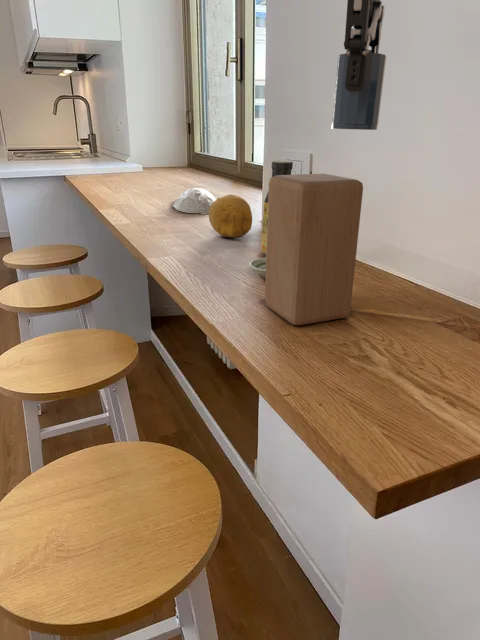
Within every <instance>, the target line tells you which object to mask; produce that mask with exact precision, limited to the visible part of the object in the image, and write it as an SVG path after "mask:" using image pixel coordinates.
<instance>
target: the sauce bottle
mask: <svg viewBox="0 0 480 640" xmlns="http://www.w3.org/2000/svg"><path fill="white" fill-rule="evenodd" d="M293 163H294V162H293V161H291V160H287V159H285V160H284V159H276V160H274V159H273V160H272V161H271V167H270V168H271V178H272V177H274V176H276V175H292V170H293V165H294V164H293ZM268 195H269V189H268V191H267V193H266V196H265V199H264V201H263V215H262V231H261V232H262V233H261V235H262V236H261V258H266V252H267V223H268Z"/></svg>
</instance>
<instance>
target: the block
mask: <svg viewBox="0 0 480 640" xmlns="http://www.w3.org/2000/svg"><path fill="white" fill-rule="evenodd" d="M268 190H269V195H268V223H267V252H266V278H265V281H264V283H265V285H264V286H265V287H264V303H265V306H266V307H267V308H268V309H270V310H272V311H273V312H275V313H276V314H277V315H278V316H279V317H282V318H283V319H284V320H286V321H287V322H288V323H290V324H291V325H295V326H302V325H308V324H314V323H321V322H326V321H327V322H328V321H332V320H338V319H342V318H343V319H344V318H347V317H349V315H350V313H351V308H352V297H353V288H354V279H355V268H356V260H357V252H358V251H357V249H358V241H359V231H360V221H361V213H362V212H361V211H362V203H363V194H364V193H363V192H364V186H363V182H361V180H358V179H356V178H349V177H344V176H339V175H334V174H328V173H304V174H303V173H302V174H301V173H300V174H299V173H298V174H291V175H276V176H274V177H272V176H271V177H270V178H269V181H268Z"/></svg>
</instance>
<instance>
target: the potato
mask: <svg viewBox="0 0 480 640" xmlns="http://www.w3.org/2000/svg"><path fill="white" fill-rule="evenodd" d="M252 212H253V211H252V208H251V206H250V204H249V203H248V202H247V200H245V199H244V198H243V197H241V196H239V195H236V194H227V195H223V196H221V197H217V198H216V200H215V201H214V202H213V203H212V205H211V206H210V209H209V213H208V220H209V223H210V225H211V227H212V228H213V230H214V231H215V232H216V233H218V235H220V237H221V236H222V237H225V238H231V239H237V240H238V239H240V238H242V237H244V236H246V234H248V233H249V232H250V231H251V230H252V226H253V213H252Z"/></svg>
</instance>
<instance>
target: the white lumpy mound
mask: <svg viewBox="0 0 480 640" xmlns="http://www.w3.org/2000/svg"><path fill="white" fill-rule="evenodd" d="M215 200H217V198H215V196H213V194H212V193H211V192H209V190H207V189H204V188H198V187H193V188H189V189H185V190H184V191H183V192H182V193H180V195H178V197H177V198H176V200H175V202H174V203H173V204H172V207H174V209H175V210H176V211H179V212H183V213H189V214H190V213H191V214H201V215H207V214H209V209H210V206H211V205H212V203H213V202H214V201H215Z"/></svg>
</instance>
